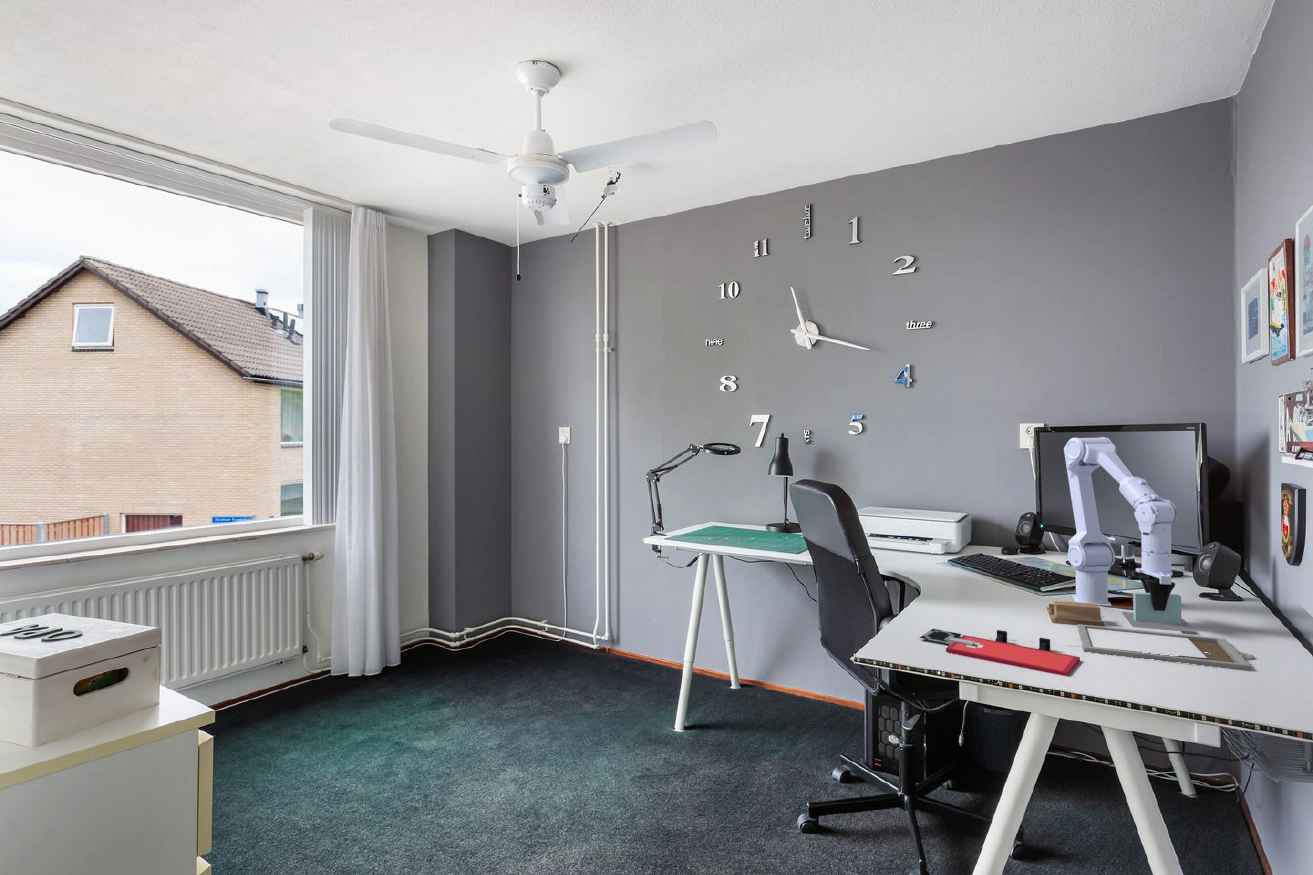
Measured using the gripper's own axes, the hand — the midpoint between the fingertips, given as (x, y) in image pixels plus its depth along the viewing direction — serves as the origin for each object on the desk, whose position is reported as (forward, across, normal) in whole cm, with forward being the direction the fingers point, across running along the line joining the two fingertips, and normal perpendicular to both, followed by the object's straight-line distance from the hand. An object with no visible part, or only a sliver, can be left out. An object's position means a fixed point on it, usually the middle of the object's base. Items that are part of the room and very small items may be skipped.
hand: (1156, 608), depth 163 cm
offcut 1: (+3, +4, -17) cm, 18 cm away
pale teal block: (+3, 0, 0) cm, 3 cm away
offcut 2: (+3, +6, -17) cm, 19 cm away
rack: (+4, +1, -17) cm, 18 cm away
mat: (+4, 0, 0) cm, 4 cm away
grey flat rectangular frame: (+4, +21, -4) cm, 22 cm away
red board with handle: (+4, +34, -37) cm, 50 cm away
